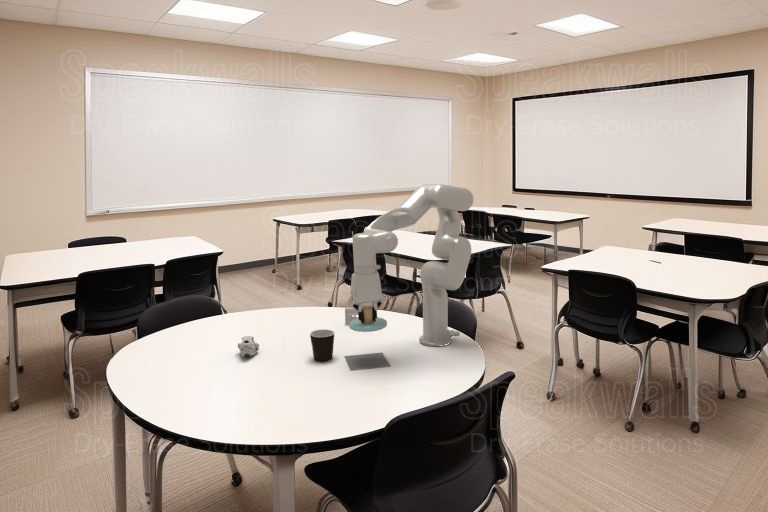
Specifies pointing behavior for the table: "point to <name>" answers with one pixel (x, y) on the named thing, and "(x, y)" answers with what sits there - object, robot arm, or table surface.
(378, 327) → the lid
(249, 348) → the skull
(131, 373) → the table surface
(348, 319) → the cassette
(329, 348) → the coffee mug
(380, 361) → the mat
